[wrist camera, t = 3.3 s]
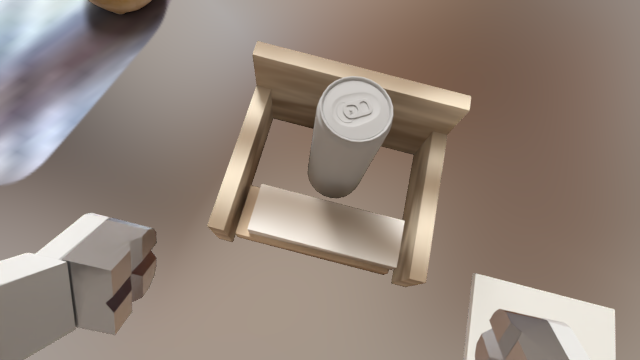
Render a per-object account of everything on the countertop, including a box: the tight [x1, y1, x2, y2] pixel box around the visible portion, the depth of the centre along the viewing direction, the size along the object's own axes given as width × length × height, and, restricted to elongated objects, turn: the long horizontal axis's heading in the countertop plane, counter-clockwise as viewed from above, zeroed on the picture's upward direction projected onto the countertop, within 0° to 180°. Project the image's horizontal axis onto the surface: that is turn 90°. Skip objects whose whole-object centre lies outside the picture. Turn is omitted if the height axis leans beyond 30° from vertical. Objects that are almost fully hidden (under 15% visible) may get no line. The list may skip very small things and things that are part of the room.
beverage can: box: [308, 76, 393, 198], centre depth 29 cm, size 5×5×12 cm
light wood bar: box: [235, 184, 405, 275], centre depth 31 cm, size 4×12×4 cm, turn 76°
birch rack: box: [207, 41, 471, 287], centre depth 30 cm, size 14×16×9 cm
